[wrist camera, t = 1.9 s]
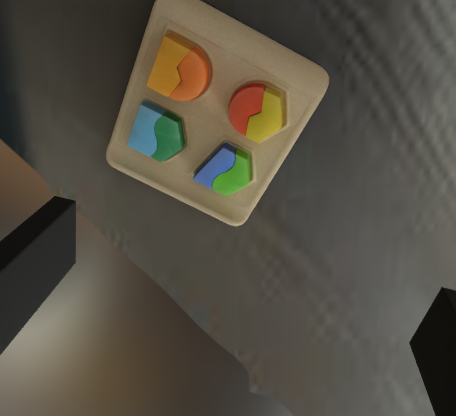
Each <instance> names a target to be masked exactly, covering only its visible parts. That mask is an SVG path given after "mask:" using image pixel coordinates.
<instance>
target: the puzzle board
mask: <svg viewBox="0 0 456 416" xmlns="http://www.w3.org/2000/svg"><path fill="white" fill-rule="evenodd" d="M328 85H329V76H328V74H327V72H326V71H325V70H324V69H323V68H322V67H321V66H319V65H317V64H316V63H314V62H312V61H310V60H308V59H307V58H305V57H303V56H301V55H299V54H297V53H295V52H293V51H292V50H290V49H288V48H286V47H284V46H283V45H281V44H279V43H277V42H275V41H274V40H272V39H270V38H268V37H266V36H265V35H263V34H261V33H259V32H257V31H255V30H254V29H252V28H250V27H248V26H246V25H244V24H243V23H241V22H239V21H237V20H235V19H233V18H232V17H230V16H228V15H226V14H224V13H222V12H221V11H219V10H217V9H215V8H213V7H211V6H209V5H208V4H206V3H204V2H202V1H200V0H156V1H155V3H154V6H153V9H152V12H151V15H150V18H149V21H148V24H147V27H146V31H145V34H144V37H143V40H142V43H141V46H140V49H139V52H138V55H137V58H136V61H135V64H134V68H133V71H132V74H131V77H130V80H129V83H128V86H127V90H126V93H125V96H124V99H123V102H122V105H121V108H120V112H119V115H118V118H117V121H116V124H115V127H114V130H113V133H112V137H111V140H110V142H109V145H108V148H107V151H106V159H107V162H108V163H109V164H110V165H111V166H112V167H113V168H115V169H117V170H119V171H121V172H123V173H125V174H127V175H129V176H132V177H134V178H136V179H138V180H140V181H142V182H144V183H146V184H148V185H150V186H152V187H154V188H156V189H158V190H160V191H162V192H164V193H166V194H168V195H170V196H172V197H174V198H176V199H178V200H180V201H182V202H184V203H186V204H188V205H190V206H192V207H195V208H197V209H199V210H201V211H203V212H205V213H207V214H209V215H211V216H213V217H215V218H217V219H219V220H221V221H223V222H225V223H227V224H229V225H231V226H239V225H242V224H243V223H244V222H245V221H246V220H247V219H248V217H249V216H250V214H251V212H252V211H253V209H254V207H255V206H256V204H257V203H258V201H259V199H260V198H261V196H262V195H263V193H264V191H265V190H266V188H267V186H268V185H269V183H270V182H271V180H272V178H273V177H274V175H275V174H276V172H277V170H278V169H279V167H280V166H281V164H282V162H283V161H284V159H285V158H286V156H287V154H288V153H289V151H290V149H291V148H292V146H293V145H294V143H295V141H296V140H297V138H298V137H299V135H300V133H301V132H302V130H303V128H304V127H305V125H306V124H307V122H308V120H309V119H310V117H311V116H312V114H313V112H314V111H315V109H316V108H317V106H318V104H319V103H320V101H321V99H322V98H323V96H324V94H325V92H326V90H327V88H328Z"/></svg>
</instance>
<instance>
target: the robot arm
mask: <svg viewBox="0 0 456 416" xmlns="http://www.w3.org/2000/svg"><path fill="white" fill-rule="evenodd" d="M75 245H76V201H74V200H70V199H66V198H61V197H57V196H54V197H53V198H52V199H51V200H50V201H49V202H47V203H46V204H45V205H44V206H43V207H41V208H40V209H39V210H38V211H36V212H35V213H34V214H33V215H32V216H31V217H29V218H28V219H27V220H26V221H24V222H23V223H22V224H21V225H20V226H18V227H17V228H16V229H15V230H14V231H12V232H11V233H10V234H9V235H7V236H6V237H5V238H4V239H3V240H1V241H0V355H1V354H2V352H3V351H4V350H5V349H6V347H7V346H8V345H9V344H10V343H11V341H12V340H13V339H14V338H15V336H16V335H17V334H18V333H19V331H20V330H21V329H22V328H23V327H24V325H25V324H26V323H27V322H28V320H29V319H30V318H31V317H32V315H33V314H34V313H35V312H36V311H37V309H38V308H39V307H40V305H41V304H42V303H43V302H44V301H45V300H46V298H47V297H48V296H49V295H50V293H51V292H52V291H53V290H54V288H55V287H56V286H57V285H58V284H59V282H60V281H61V280H62V279H63V277H64V276H65V275H66V274H67V272H68V271H69V270H70V269H71V268H72V266H73V265H74V264H75V262H76V260H75V258H76V256H75V255H76V246H75ZM409 344H410V346H411V349H412V352H413V355H414V357H415V360H416V363H417V366H418V368H419V371H420V374H421V377H422V379H423V382H424V385H425V388H426V390H427V393H428V396H429V399H430V401H431V404H432V407H433V410H434V412H435V415H436V416H456V291H455V290H451V289H447V288H443V287H442V288H441V290H440V291H439V293H438V295H437V296H436V298H435V300H434V302H433V303H432V305H431V307H430V308H429V310H428V312H427V313H426V315H425V317H424V319H423V320H422V322H421V324H420V325H419V327H418V329H417V331H416V332H415V334H414V336H413V337H412V339H411V341H410V342H409Z"/></svg>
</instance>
